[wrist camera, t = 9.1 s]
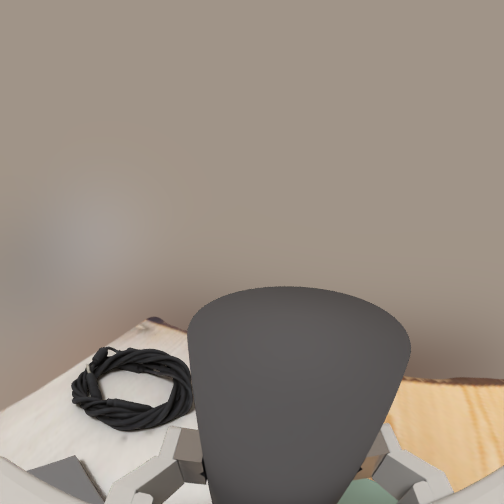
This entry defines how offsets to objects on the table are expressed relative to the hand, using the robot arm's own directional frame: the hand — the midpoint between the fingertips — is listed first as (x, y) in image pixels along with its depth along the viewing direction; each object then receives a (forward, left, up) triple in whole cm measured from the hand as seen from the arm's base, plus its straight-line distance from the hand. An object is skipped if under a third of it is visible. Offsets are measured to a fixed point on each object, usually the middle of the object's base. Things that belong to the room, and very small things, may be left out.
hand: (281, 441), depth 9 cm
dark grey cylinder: (0, +1, -7) cm, 7 cm away
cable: (+24, -3, -17) cm, 30 cm away
